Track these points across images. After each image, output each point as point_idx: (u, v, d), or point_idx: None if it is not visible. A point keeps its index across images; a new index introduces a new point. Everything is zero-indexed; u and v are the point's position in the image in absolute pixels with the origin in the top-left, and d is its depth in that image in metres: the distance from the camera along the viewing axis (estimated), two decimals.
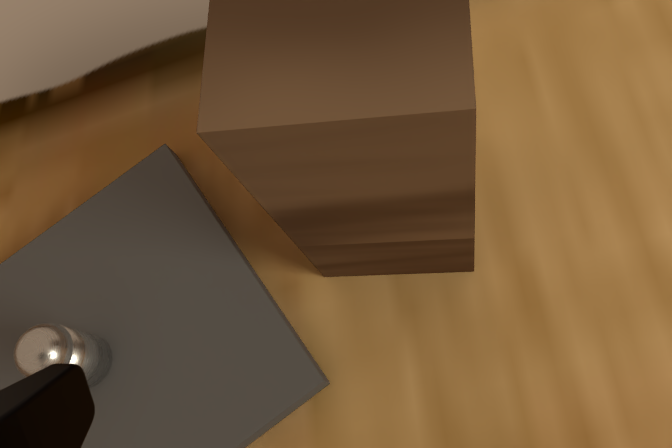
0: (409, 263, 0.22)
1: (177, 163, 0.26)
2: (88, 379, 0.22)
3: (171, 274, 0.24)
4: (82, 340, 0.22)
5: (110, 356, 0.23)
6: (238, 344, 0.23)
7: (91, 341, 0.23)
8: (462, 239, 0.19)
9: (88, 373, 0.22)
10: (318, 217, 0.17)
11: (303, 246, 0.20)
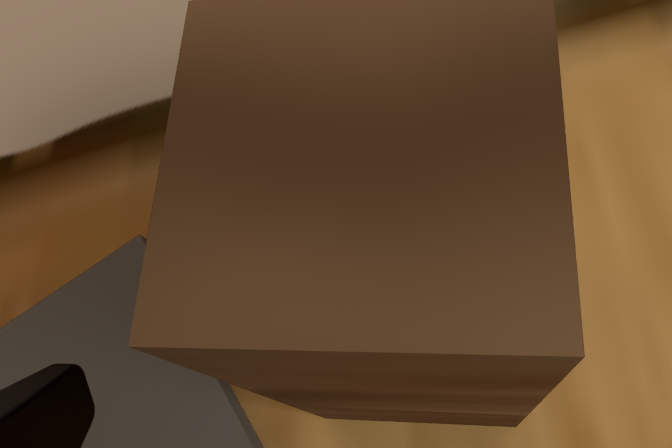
0: (435, 420, 0.17)
1: None
2: None
3: (135, 406, 0.19)
4: None
5: None
6: None
7: None
8: (511, 415, 0.14)
9: None
10: (319, 396, 0.13)
11: (298, 405, 0.15)
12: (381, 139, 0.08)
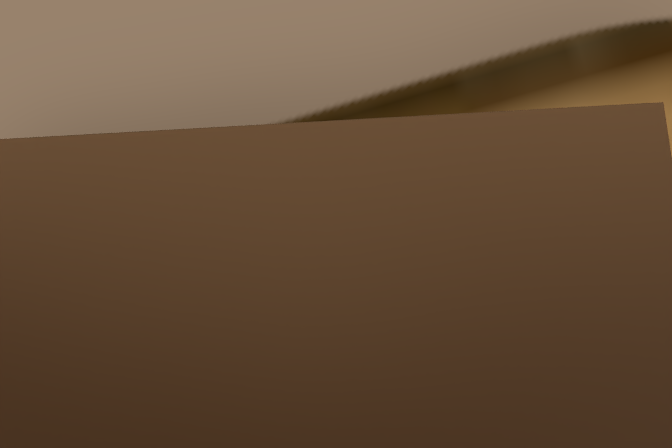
0: None
1: None
2: None
3: None
4: None
5: None
6: None
7: None
8: None
9: None
10: None
11: None
12: None
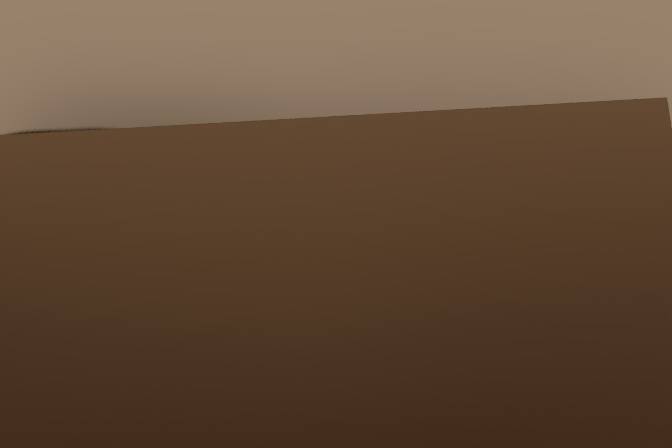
0: None
1: None
2: None
3: None
4: None
5: None
6: None
7: None
8: None
9: None
10: None
11: None
12: None
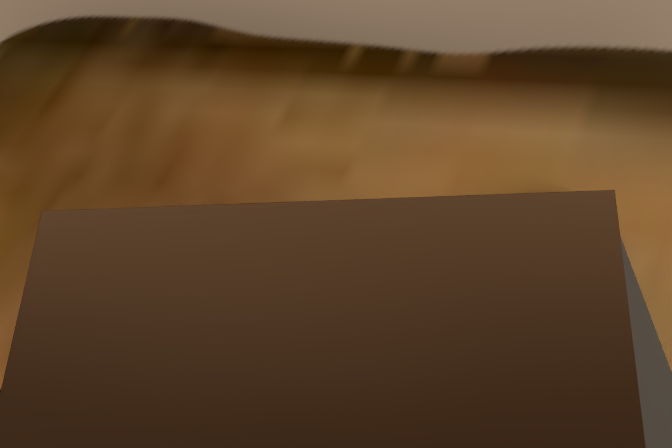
0: None
1: (622, 248, 0.17)
2: None
3: None
4: None
5: None
6: None
7: None
8: None
9: None
10: None
11: None
12: None
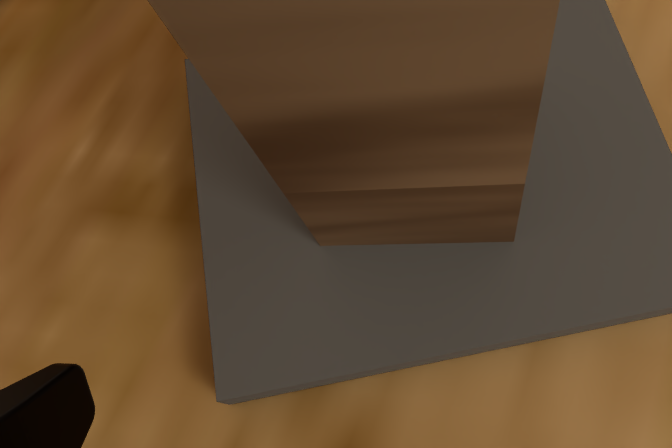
0: (430, 226, 0.17)
1: None
2: None
3: (548, 97, 0.19)
4: None
5: None
6: (618, 207, 0.17)
7: None
8: (508, 186, 0.14)
9: None
10: (310, 138, 0.12)
11: (291, 193, 0.15)
12: None
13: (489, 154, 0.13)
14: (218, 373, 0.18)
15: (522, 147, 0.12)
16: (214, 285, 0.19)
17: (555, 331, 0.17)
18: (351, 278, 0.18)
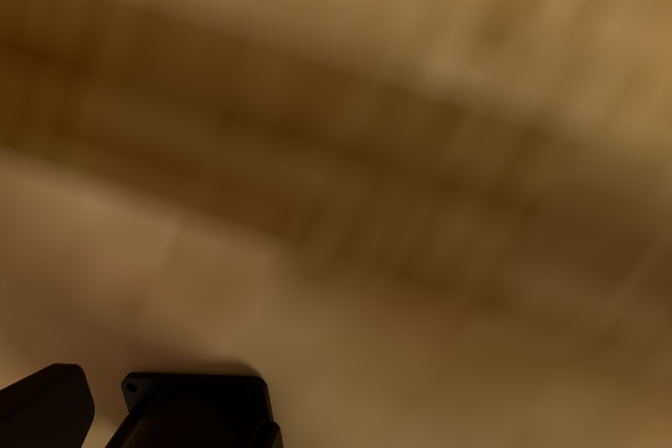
0: None
1: None
2: None
3: None
4: None
5: None
6: None
7: None
8: None
9: None
10: None
11: None
12: None
13: None
14: None
15: None
16: None
17: None
18: None
